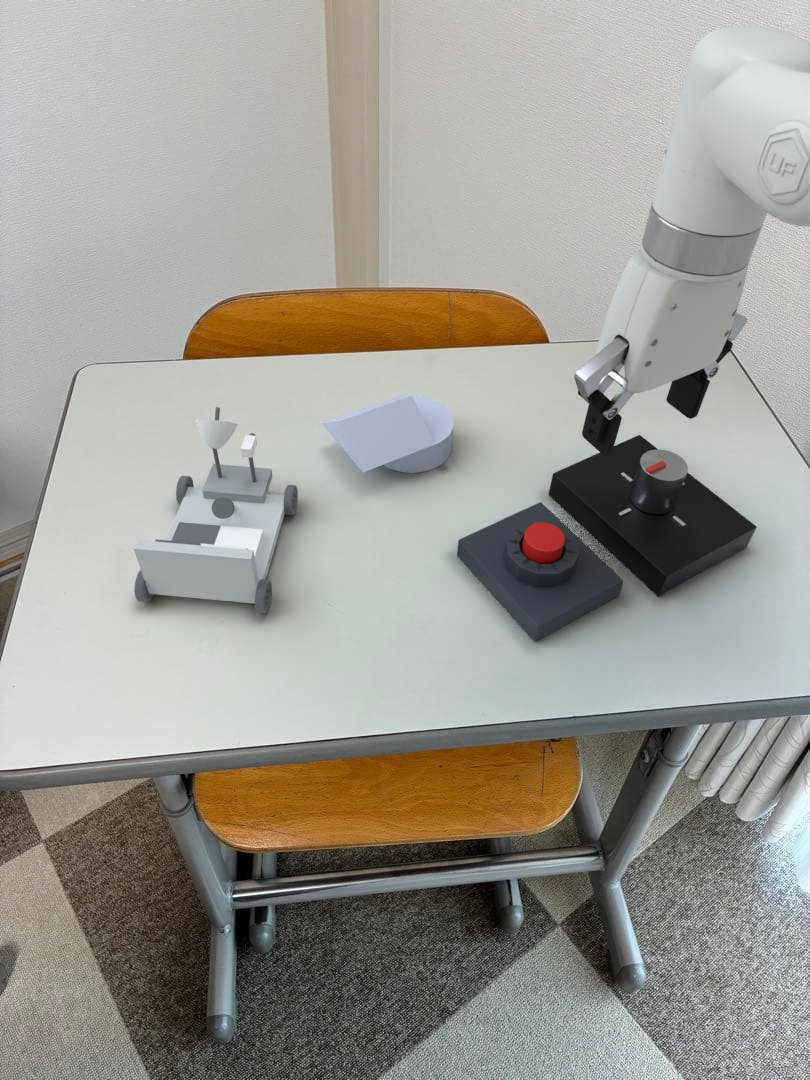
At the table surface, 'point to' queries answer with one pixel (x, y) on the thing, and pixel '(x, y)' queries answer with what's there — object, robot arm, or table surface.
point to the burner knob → (658, 481)
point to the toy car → (218, 531)
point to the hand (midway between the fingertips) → (639, 426)
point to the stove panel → (650, 519)
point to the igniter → (538, 573)
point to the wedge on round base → (396, 434)
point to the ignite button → (543, 543)
